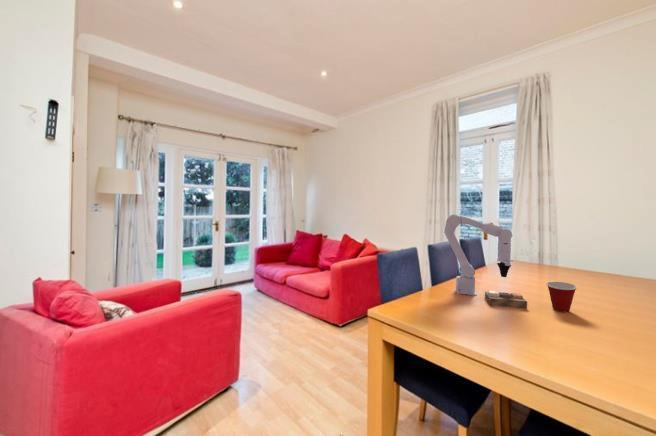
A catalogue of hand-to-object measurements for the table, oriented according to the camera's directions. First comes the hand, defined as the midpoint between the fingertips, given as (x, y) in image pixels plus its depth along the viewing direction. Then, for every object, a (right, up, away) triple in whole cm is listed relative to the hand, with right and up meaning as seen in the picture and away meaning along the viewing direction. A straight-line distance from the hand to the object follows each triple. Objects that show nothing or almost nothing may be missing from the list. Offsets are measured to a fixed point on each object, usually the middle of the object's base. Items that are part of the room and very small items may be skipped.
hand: (503, 276), depth 145 cm
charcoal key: (-6, -9, -11) cm, 15 cm away
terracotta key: (-2, -9, -12) cm, 15 cm away
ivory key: (-11, -9, -9) cm, 17 cm away
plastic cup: (+13, -11, -20) cm, 26 cm away
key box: (-6, -11, -11) cm, 16 cm away
